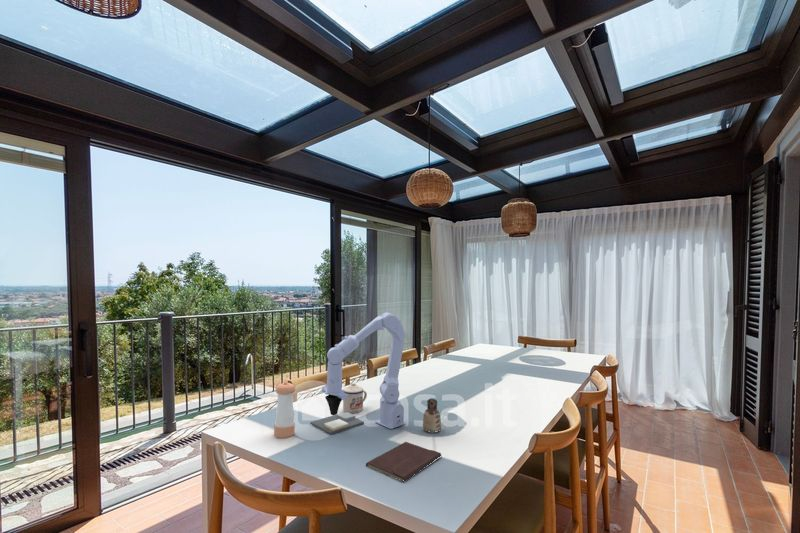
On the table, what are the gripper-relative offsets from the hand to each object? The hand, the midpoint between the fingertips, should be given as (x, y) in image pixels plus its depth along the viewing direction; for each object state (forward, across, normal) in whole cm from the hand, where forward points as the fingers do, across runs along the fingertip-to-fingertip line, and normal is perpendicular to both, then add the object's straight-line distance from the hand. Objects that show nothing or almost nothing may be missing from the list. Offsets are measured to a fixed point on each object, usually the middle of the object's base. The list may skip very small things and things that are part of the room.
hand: (333, 414), depth 146 cm
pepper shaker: (+5, -7, -17) cm, 19 cm away
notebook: (+6, +38, +1) cm, 39 cm away
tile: (+4, -1, 0) cm, 4 cm away
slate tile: (+4, -3, +8) cm, 9 cm away
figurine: (+5, +27, +27) cm, 39 cm away
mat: (+5, -2, +3) cm, 6 cm away
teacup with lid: (+5, -11, +19) cm, 23 cm away
